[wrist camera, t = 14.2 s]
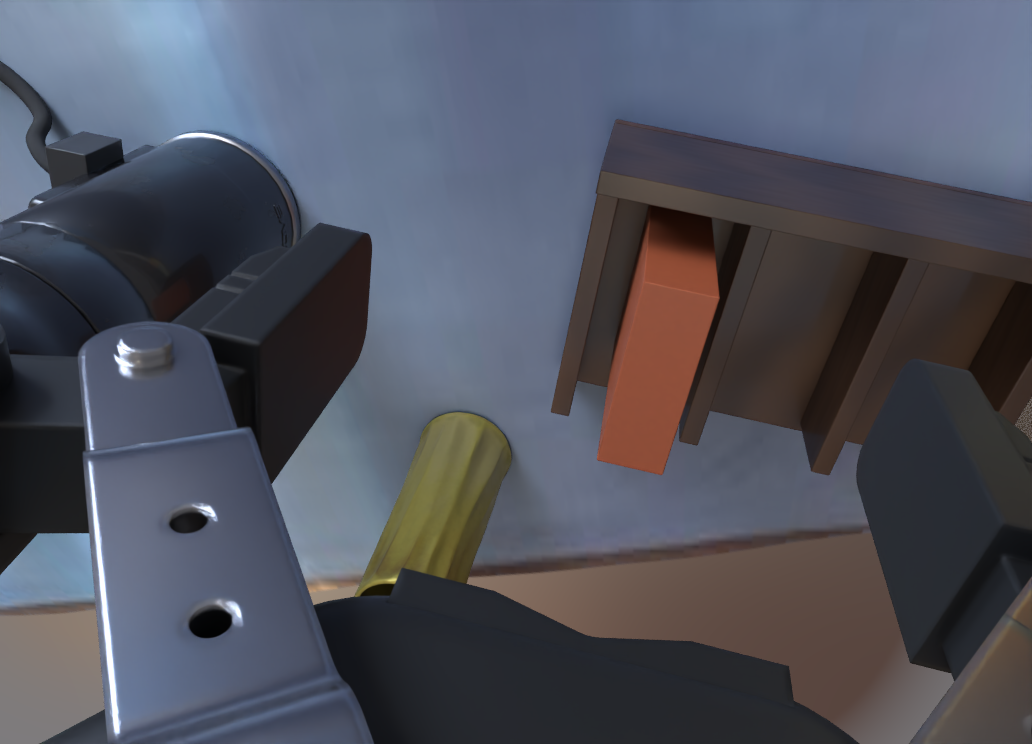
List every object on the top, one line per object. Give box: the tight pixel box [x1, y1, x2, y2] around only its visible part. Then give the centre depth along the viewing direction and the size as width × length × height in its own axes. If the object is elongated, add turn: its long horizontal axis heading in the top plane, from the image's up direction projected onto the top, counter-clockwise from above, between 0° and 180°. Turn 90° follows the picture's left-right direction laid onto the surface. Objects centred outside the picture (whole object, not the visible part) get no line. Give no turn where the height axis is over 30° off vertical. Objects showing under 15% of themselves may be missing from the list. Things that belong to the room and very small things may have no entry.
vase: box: [354, 412, 511, 597], centre depth 45 cm, size 6×6×14 cm
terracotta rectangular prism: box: [597, 205, 720, 475], centre depth 38 cm, size 3×9×11 cm, turn 172°
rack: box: [551, 119, 1032, 475], centre depth 39 cm, size 22×15×9 cm
